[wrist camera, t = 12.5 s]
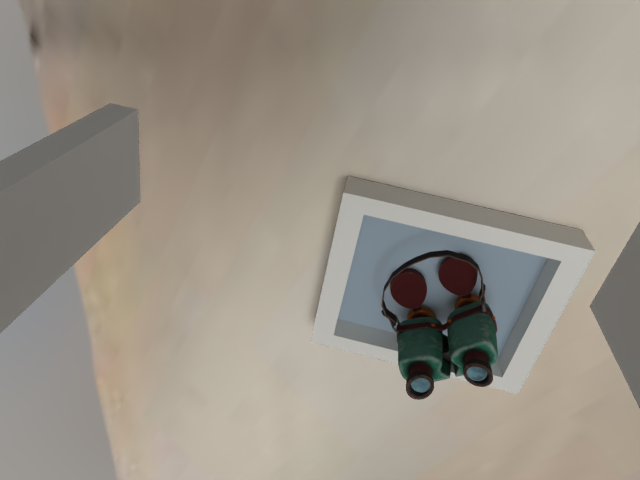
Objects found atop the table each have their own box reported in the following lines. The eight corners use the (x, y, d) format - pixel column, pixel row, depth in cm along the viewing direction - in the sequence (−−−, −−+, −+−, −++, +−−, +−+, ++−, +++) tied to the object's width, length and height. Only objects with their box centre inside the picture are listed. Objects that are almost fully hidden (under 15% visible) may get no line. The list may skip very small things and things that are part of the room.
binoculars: (476, 281, 33) (519, 398, 36) (466, 223, 43) (501, 319, 46) (353, 314, 36) (401, 420, 39) (369, 253, 46) (407, 342, 49)
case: (348, 175, 43) (343, 192, 40) (582, 230, 42) (595, 251, 39) (316, 319, 51) (310, 341, 48) (511, 367, 50) (517, 394, 47)
